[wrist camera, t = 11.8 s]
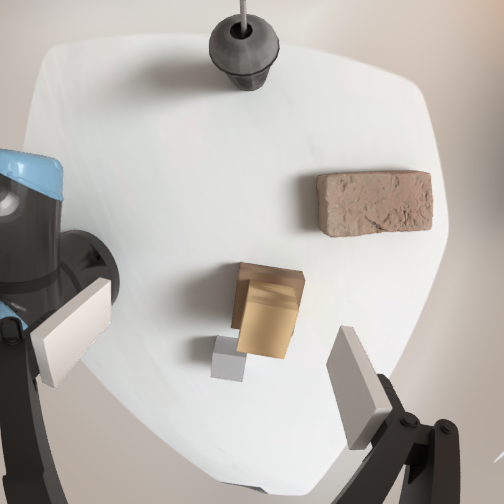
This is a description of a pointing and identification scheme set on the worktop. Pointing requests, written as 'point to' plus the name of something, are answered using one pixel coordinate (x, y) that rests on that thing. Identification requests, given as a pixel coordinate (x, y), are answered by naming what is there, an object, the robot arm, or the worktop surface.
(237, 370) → the grey block
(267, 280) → the walnut block
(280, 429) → the worktop surface
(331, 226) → the brick
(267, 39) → the beverage cup
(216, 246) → the worktop surface
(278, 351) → the oak block
